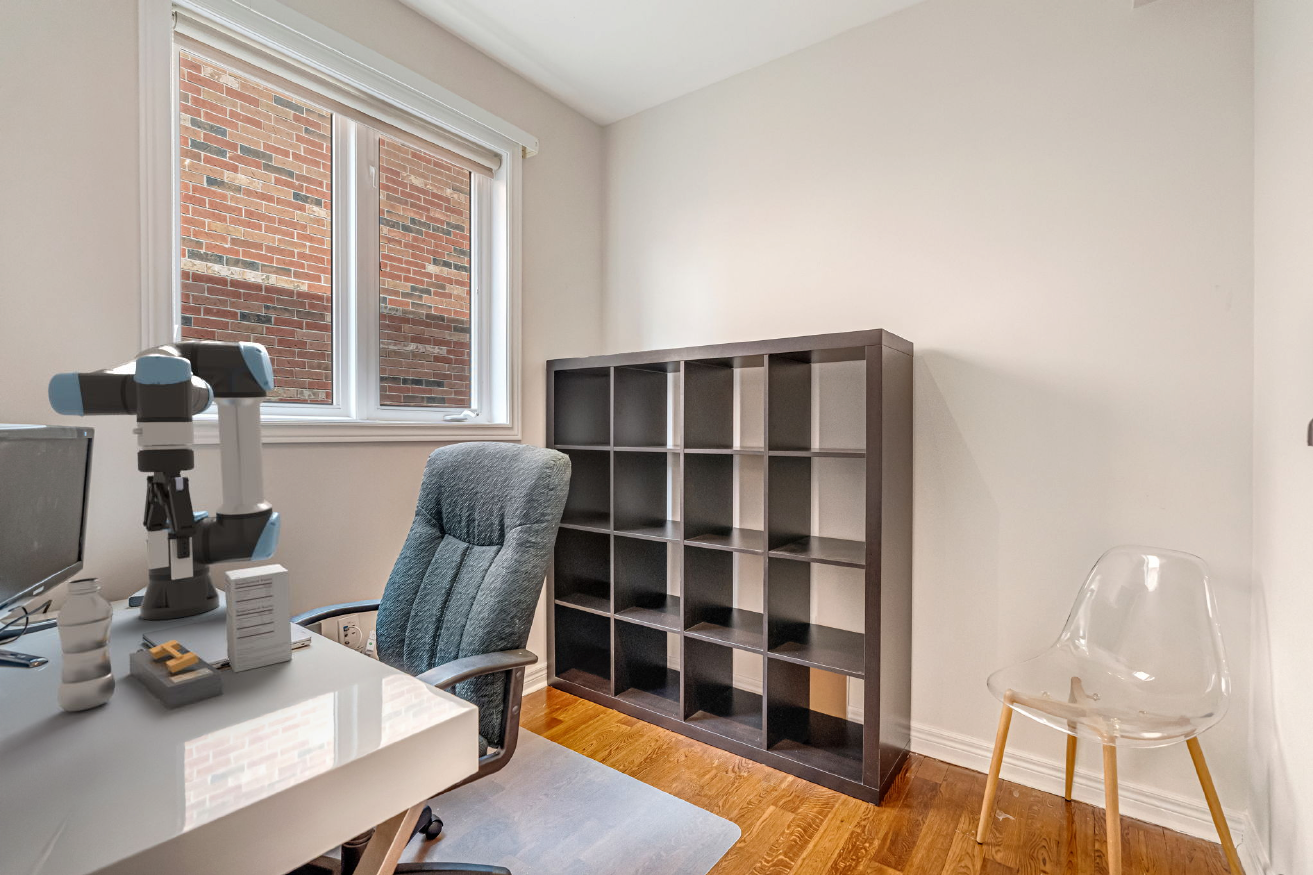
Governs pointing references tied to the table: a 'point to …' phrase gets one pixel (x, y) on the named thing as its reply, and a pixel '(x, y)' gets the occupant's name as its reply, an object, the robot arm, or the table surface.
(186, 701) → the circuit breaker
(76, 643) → the plastic bottle
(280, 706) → the table surface
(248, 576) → the supplement box
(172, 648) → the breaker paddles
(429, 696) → the table surface
